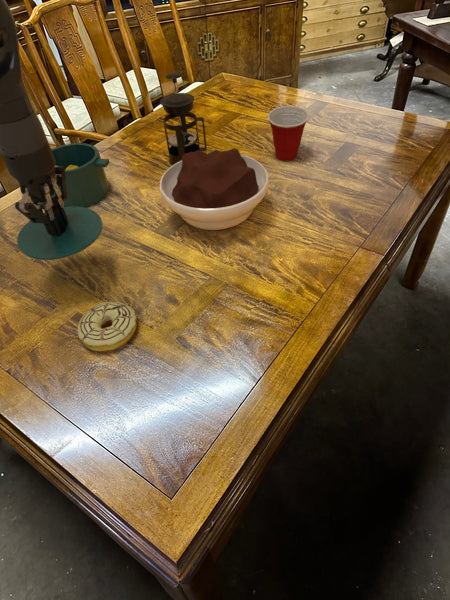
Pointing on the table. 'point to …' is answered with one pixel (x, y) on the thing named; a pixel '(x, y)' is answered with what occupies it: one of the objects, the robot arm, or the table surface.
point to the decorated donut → (109, 337)
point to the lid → (72, 239)
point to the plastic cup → (287, 130)
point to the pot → (82, 174)
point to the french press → (180, 108)
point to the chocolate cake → (214, 188)
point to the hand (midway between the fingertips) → (59, 229)
